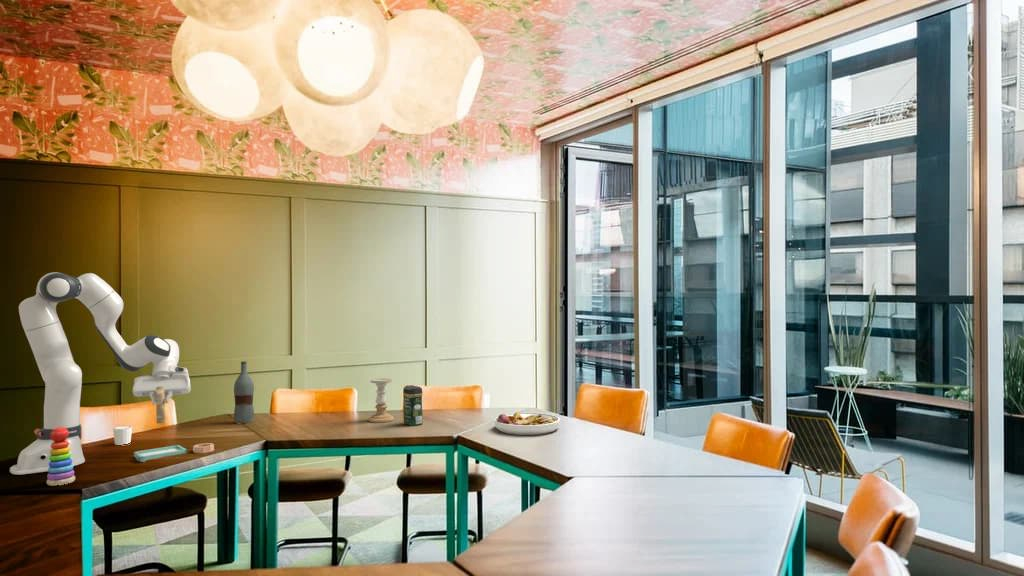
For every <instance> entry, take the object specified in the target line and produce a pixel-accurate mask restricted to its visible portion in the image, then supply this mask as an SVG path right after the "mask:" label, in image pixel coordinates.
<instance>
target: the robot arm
mask: <svg viewBox="0 0 1024 576" xmlns="http://www.w3.org/2000/svg"><path fill="white" fill-rule="evenodd" d="M71 299H77V300H79V302H81V303H82V304H83V305H84V306H85V307H86V308H87V309H88V310H89V311H90V313H91V314H92V316H93V325H94V327H95V330H96V331H97V333H99V336H100V337H101V338H102V340H103V341H104V342H105V344H106V345H107V346H108V347H109V349H110V350H111V352H112V353H113V354H114V356H115V358H116V360H117V363H118V364H119V366H120V367H121V368H122V369H123V370H126V371H130V372H138V371H139V370H141V369H142V368H144V367H145V366H147V365H148V364H150V363H152V364H153V367H152V373H151V374H145V375H139V376H136V377H135V378H134V381H133V387H132V395H133V396H134V397H137V398H139V397H150V399H151V404H155V405H156V387H161V386H163V387H164V403H165V404H169V402H170V400H171V399H172V398H173V396H174V395H186V394H189V393H191V391H192V389H191V380H190V379H191V378H190V375H189V371H188V369H187V367H181V366H178V363H179V360H180V347H179V344H178V343H177V342H176V340H173V339H170V338H161V337H159V336H158V335H154V334H149V335H147V336H145V337H143V338H141V339H139V340H138V341H136V342H135V343H133V344H131V345H128V344H127V343H126V341H125V340H124V339H123V337H122V335H120V333H119V332H118V331H117V328H116V323H117V321H118V319H119V317H120V316H121V315H122V312H123V310H124V301H123V299H122V297H121V296H120V294H118V293H117V292H116V290H114V288H113V287H112V286H111V285H110V284H108V283H107V282H106V281H105V280H104V279H103V278H101V277H100V276H98V275H97V274H95V273H92V272H89V273H88V272H87V273H84V274H83V273H82V274H81V275H80V276H78V277H74V276H71V275H69V274H65V273H62V272H54V271H53V272H49V273H47V274H45V275H43V276H42V277H41V278H39V280H38V282H37V284H36V288H35V292H34V296H30V297H28V298H25V299H24V300H22V301H21V302H20V303H19V305H18V314H19V317H20V318H19V319H20V322H21V326H22V328H23V330H24V333H25V336H26V338H27V340H28V343H29V346H30V348H31V352H32V354H33V356H34V359H35V362H36V365H37V367H38V370H39V372H40V374H41V377H42V380H43V381H44V384H45V388H44V404H43V427H42V428H41V429H40V428H36V429H35V430H34V434H35V435H36V440H35V441H33V442H31V444H29V445H28V446H27V447H25V448H24V449H22V450H21V451H20V453H19V455H18V458H17V462H16V463H17V464H14V465H12V466H11V467H9V473H11V474H12V475H26V474H27V475H28V474H36V473H44V472H48V468H49V467H50V466H49V462H50V461H51V460H50V459H49V457H50V455H51V454H50V450H51V449H53V448H51V444H52V443H53V442H54V441H53V440H52V439H51V437H50V434H51V432H52V431H53V430H54V429H55V428H58V427H64V428H66V429H67V430H68V432H69V435H68V438H67V439H66V440H65V441H68V442H69V445H68V446H67V447H69V448H70V451H69V453H70V454H71V457H70V458H71V459H72V463H71V464H73V467H74V466H78V465H81V464H84V463H85V462H86V459H85V456H84V454H83V453H84V452H83V449H82V442H81V440H82V437H83V436H82V435H83V432H82V431H83V430H82V429H83V428H82V424H81V419H80V418H81V413H80V412H81V396H82V395H81V394H82V384H83V381H82V380H83V372H82V369H81V367H80V366H79V365H78V364H76V362H75V361H74V357H73V354H72V352H71V348H70V346H69V345H70V344H69V341H68V339H67V336H66V333H65V330H64V329H63V325H62V322H61V321H60V319H59V316H58V313H57V305H58V304H59V303H62V302H65V301H70V300H71Z"/></svg>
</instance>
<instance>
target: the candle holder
mask: <svg viewBox="0 0 1024 576" xmlns="http://www.w3.org/2000/svg"><path fill="white" fill-rule="evenodd" d="M392 381H393V380H392V378H373V379H370V383H371V384H375V386H376V387H377V390H376V391H375V392H376V394H377V395H376V399H375V403H376V405H375V406H374V409H376V413H375V414H373V415H372V416H370V417H369V418H368V422H369V423H375V424H376V423H378V424H381V423H382V424H384V423H389V422H393V421H394V420H395V418H394V416H393V415H391V414H389V413H387V408H388V405H387V402H388V400H387V397H386V393H387V390H386V389H385V387H386V386H387V384H389V383H392Z"/></svg>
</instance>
